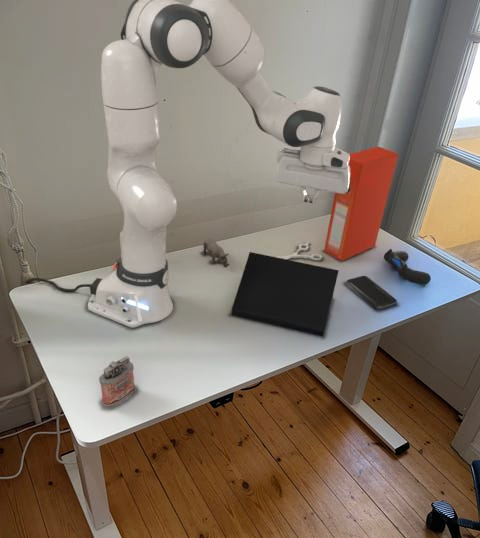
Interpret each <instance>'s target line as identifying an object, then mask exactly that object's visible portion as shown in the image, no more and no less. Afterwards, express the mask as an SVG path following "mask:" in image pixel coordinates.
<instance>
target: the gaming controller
mask: <svg viewBox="0 0 480 538" xmlns="http://www.w3.org/2000/svg"><path fill="white" fill-rule="evenodd" d="M409 258H410V257H409V253H408V252H407V251H405V250H398V251H393V249H392V248H390V249H388V250H387V251H386V252H385V253H384V254H383V259H384V261H385V262H387V263H388V264H389V265H391V266H392V269H394V270H395V271H396V272H397V274H398V276H399V277H400V278H401V279H403V280H406V281H408V282H409V283H412V284H417V285H423V286H424V285H428V284H430V282H431V280H432V279H431V278H432V276H431V275H430V274H429V273H428V272H426V271H421V270H417V269H413V268H410V267H409V266H408V264H407V263H406V262H407V261H408V260H409Z"/></svg>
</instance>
